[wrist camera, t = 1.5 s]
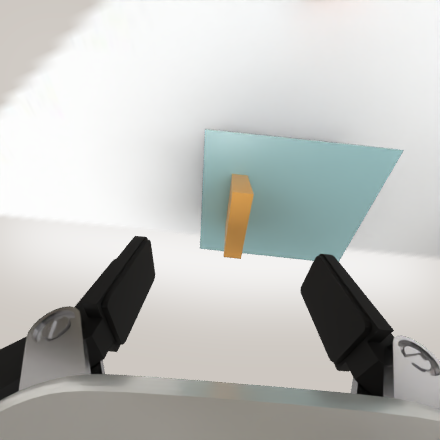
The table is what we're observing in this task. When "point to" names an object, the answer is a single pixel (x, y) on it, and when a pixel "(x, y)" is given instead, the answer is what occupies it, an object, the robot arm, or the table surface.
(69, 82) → the table surface
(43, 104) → the table surface
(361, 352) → the robot arm
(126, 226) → the table surface
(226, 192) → the lid
